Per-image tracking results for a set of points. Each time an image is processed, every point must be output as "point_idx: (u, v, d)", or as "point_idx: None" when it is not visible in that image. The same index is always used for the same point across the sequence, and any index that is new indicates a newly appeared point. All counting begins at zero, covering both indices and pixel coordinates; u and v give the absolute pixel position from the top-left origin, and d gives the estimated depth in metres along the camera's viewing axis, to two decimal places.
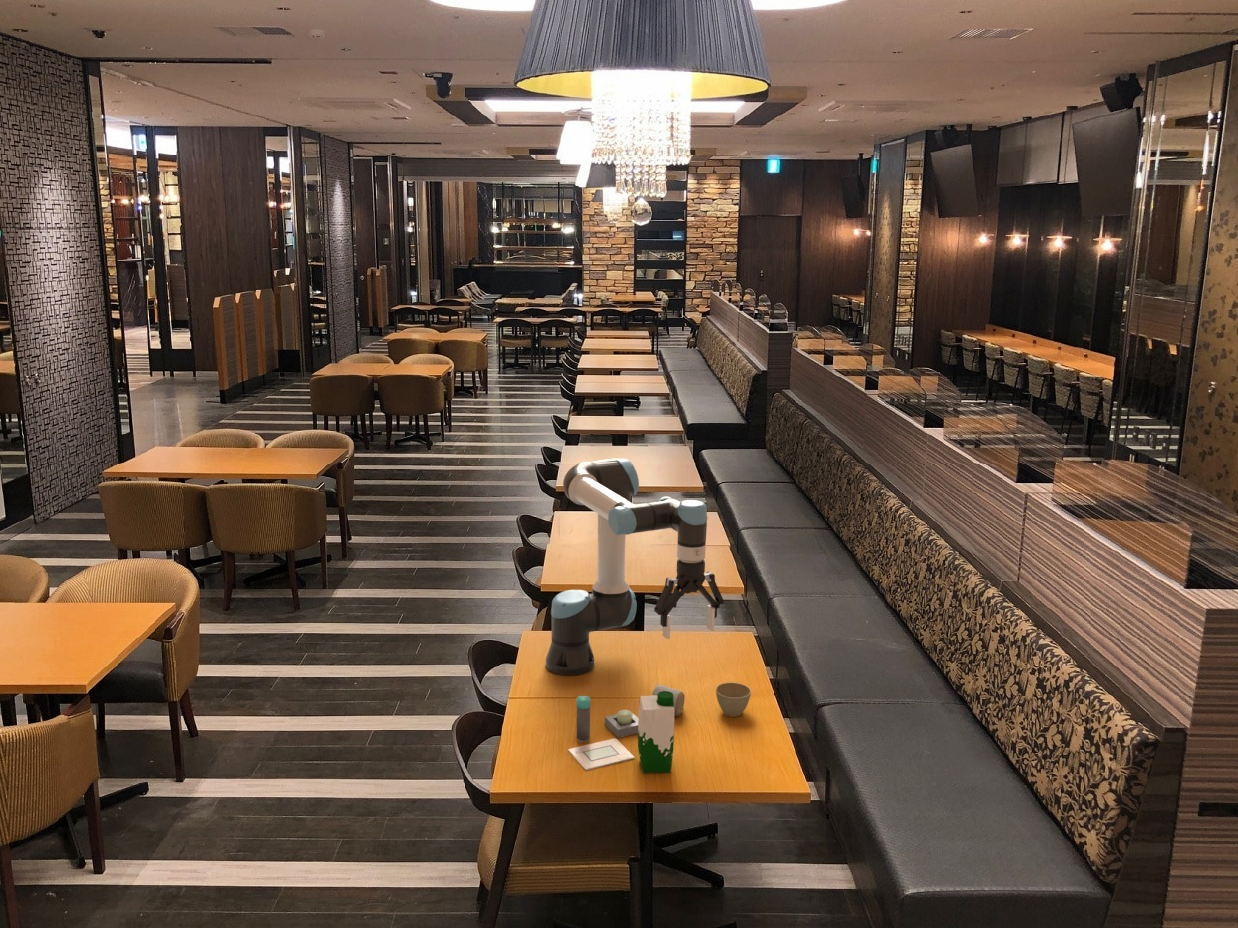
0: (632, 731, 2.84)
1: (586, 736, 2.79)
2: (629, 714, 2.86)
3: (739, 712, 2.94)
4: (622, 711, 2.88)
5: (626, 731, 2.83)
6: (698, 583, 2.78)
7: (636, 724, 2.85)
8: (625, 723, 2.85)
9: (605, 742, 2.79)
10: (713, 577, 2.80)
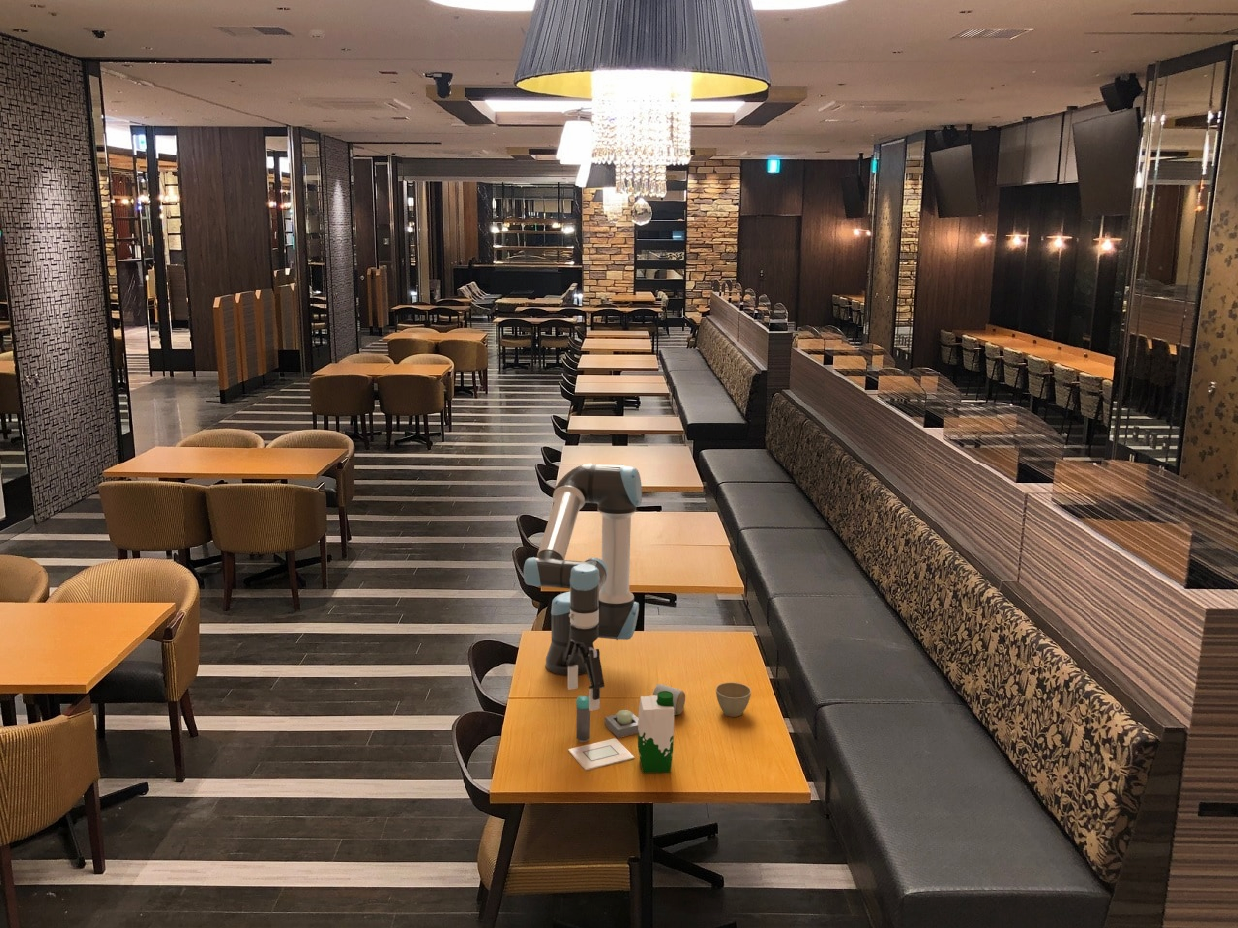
0: (632, 731, 2.84)
1: (586, 736, 2.79)
2: (629, 714, 2.86)
3: (739, 712, 2.94)
4: (622, 711, 2.88)
5: (626, 731, 2.83)
6: (579, 650, 2.72)
7: (636, 724, 2.85)
8: (625, 723, 2.85)
9: (605, 742, 2.79)
10: (590, 654, 2.68)
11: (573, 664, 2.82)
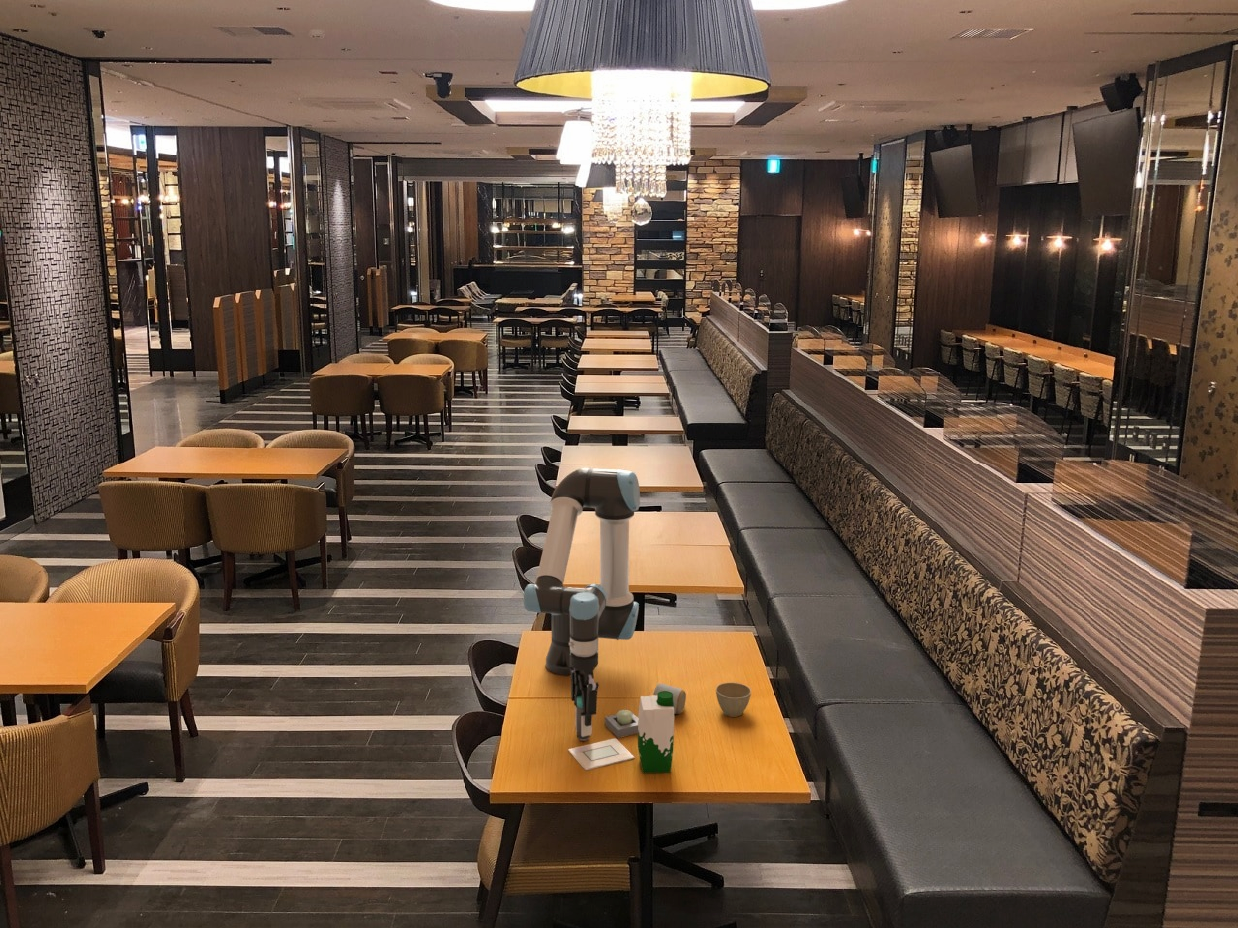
0: (632, 731, 2.84)
1: None
2: (629, 714, 2.86)
3: (739, 712, 2.94)
4: (622, 711, 2.88)
5: (626, 731, 2.83)
6: (579, 677, 2.74)
7: (636, 724, 2.85)
8: (625, 723, 2.85)
9: (605, 742, 2.79)
10: (589, 687, 2.71)
11: None
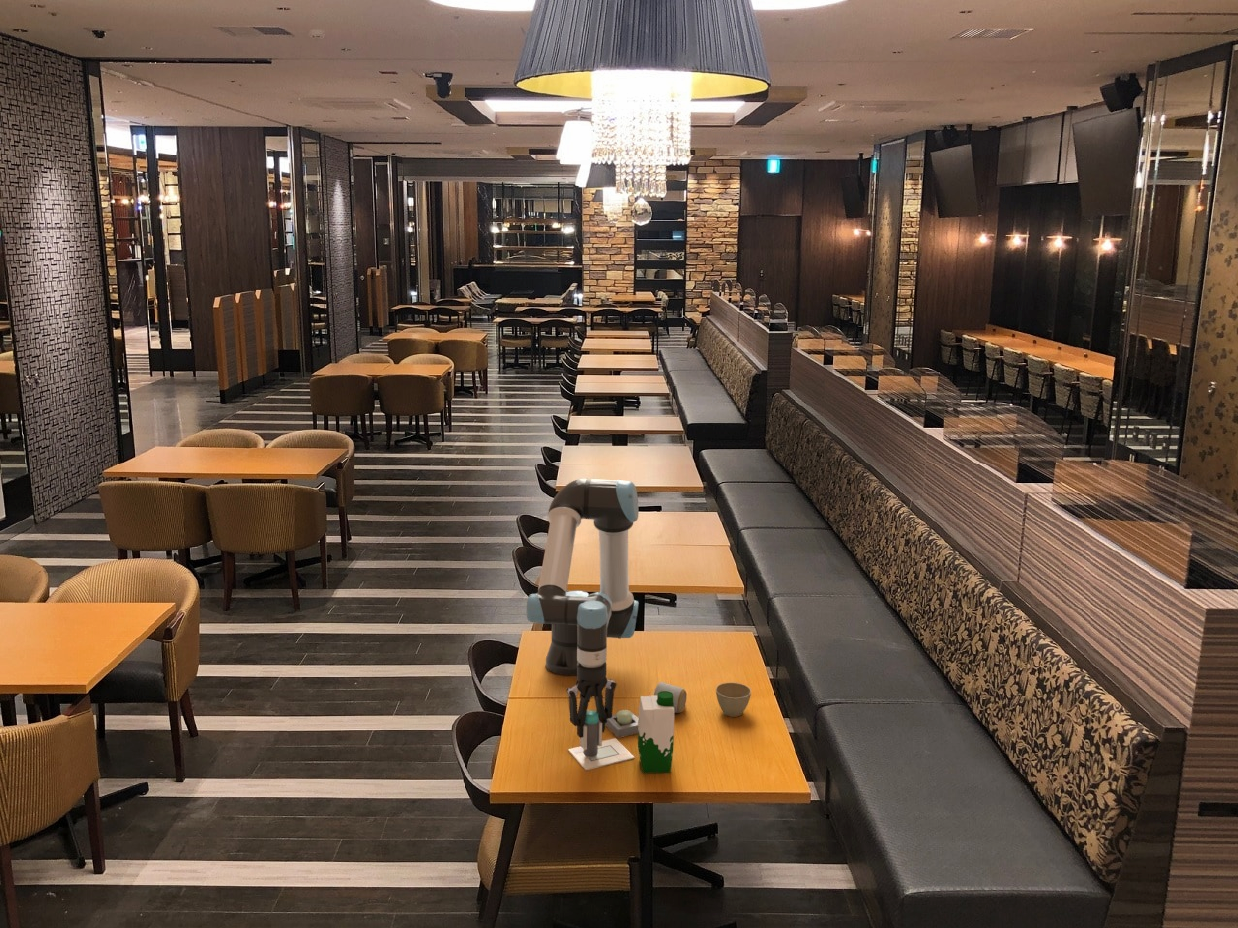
0: (632, 731, 2.84)
1: None
2: (629, 714, 2.86)
3: (739, 712, 2.94)
4: (622, 711, 2.88)
5: (626, 731, 2.83)
6: (599, 687, 2.66)
7: (636, 724, 2.85)
8: (625, 723, 2.85)
9: (605, 742, 2.79)
10: (614, 686, 2.69)
11: None
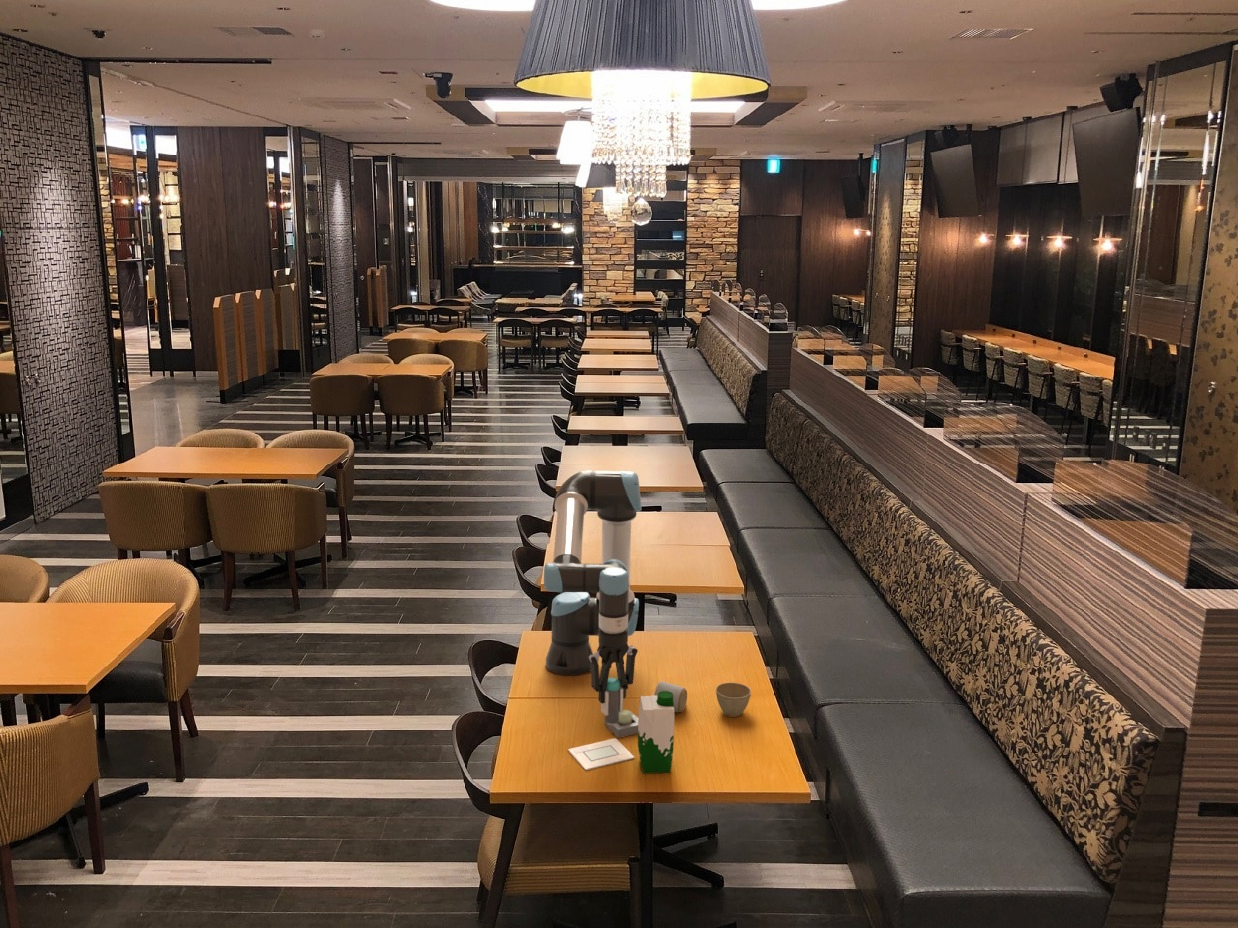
0: (632, 731, 2.84)
1: None
2: (629, 714, 2.86)
3: (739, 712, 2.94)
4: None
5: (626, 731, 2.83)
6: (621, 653, 2.67)
7: (636, 724, 2.85)
8: (625, 723, 2.85)
9: (605, 742, 2.79)
10: (635, 652, 2.70)
11: None
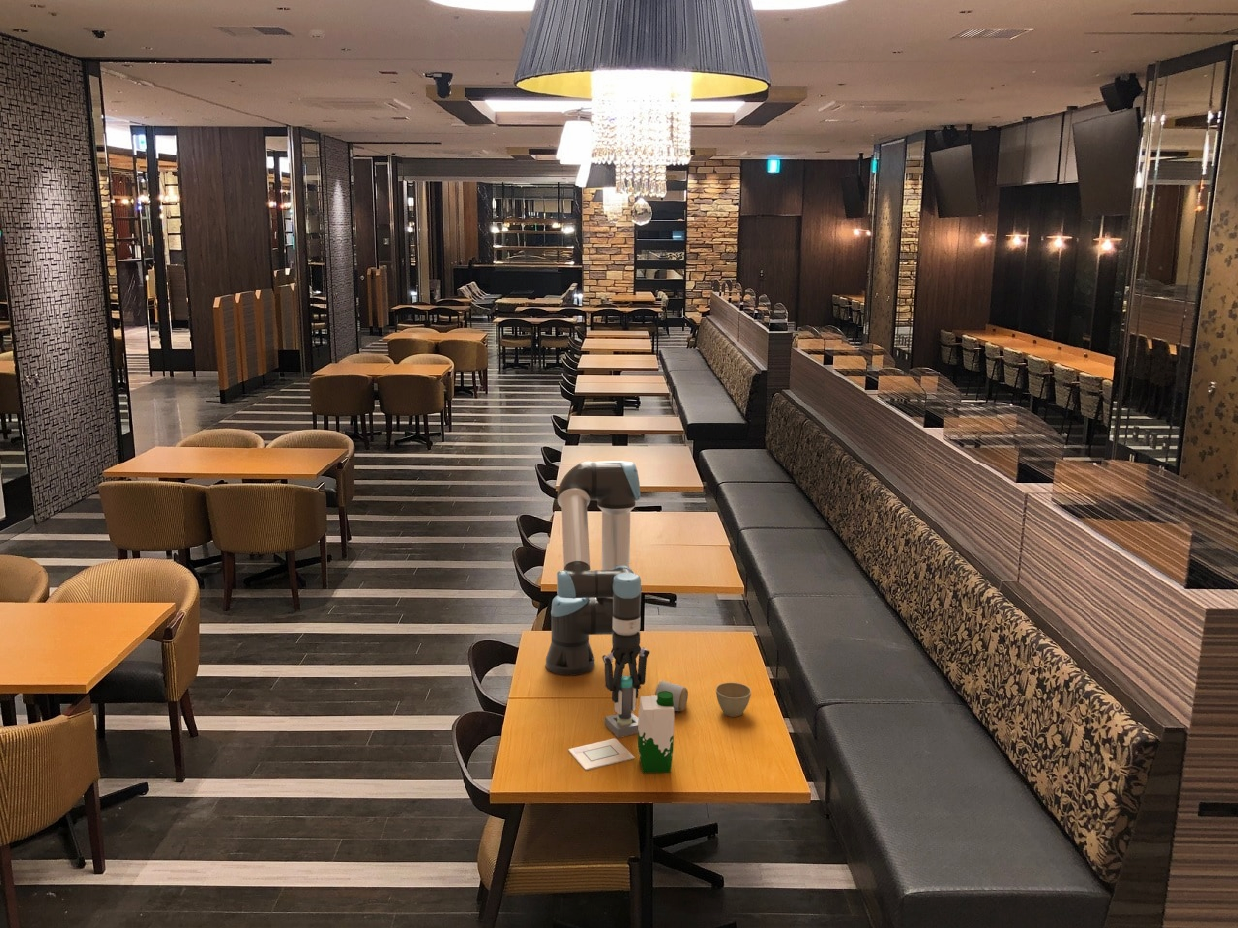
0: (632, 731, 2.84)
1: None
2: (629, 719, 2.86)
3: (739, 712, 2.94)
4: None
5: (626, 731, 2.83)
6: (633, 655, 2.81)
7: (636, 724, 2.85)
8: None
9: (605, 742, 2.79)
10: (647, 654, 2.84)
11: None
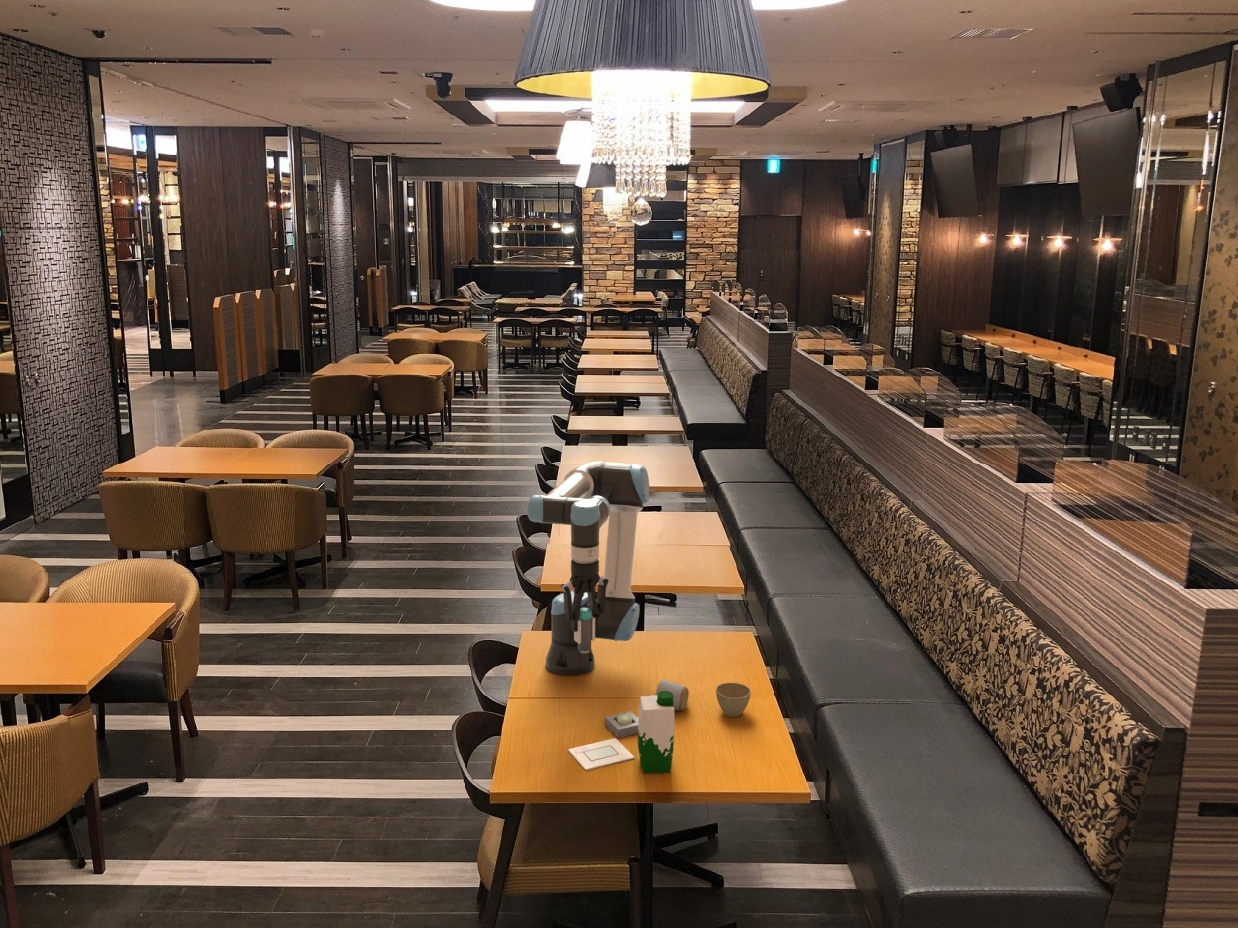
0: (632, 731, 2.84)
1: None
2: (629, 719, 2.86)
3: (739, 712, 2.94)
4: (622, 716, 2.88)
5: (626, 731, 2.83)
6: (592, 583, 2.79)
7: (636, 724, 2.85)
8: None
9: (605, 742, 2.79)
10: (606, 583, 2.82)
11: None
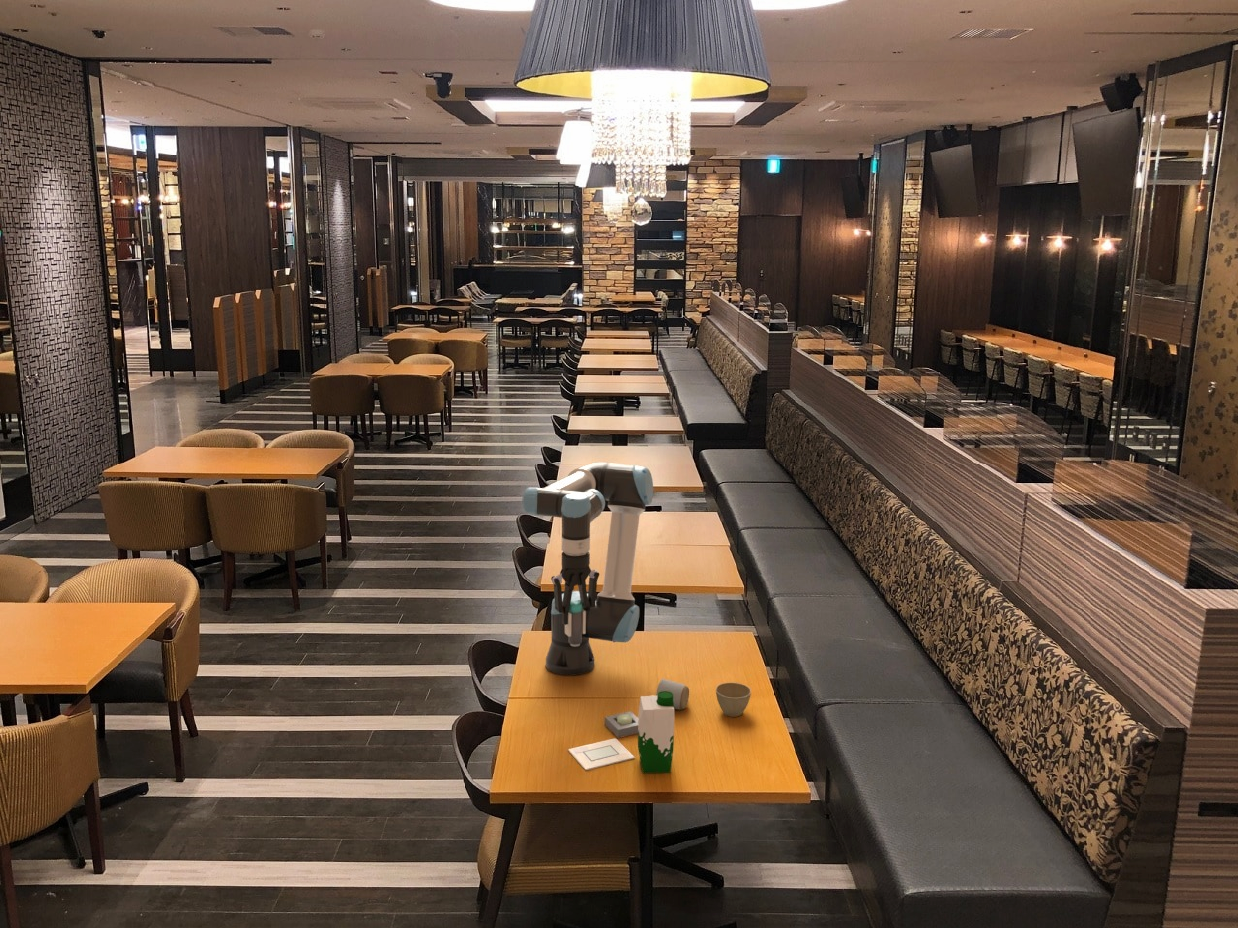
0: (632, 731, 2.84)
1: None
2: (629, 719, 2.86)
3: (739, 712, 2.94)
4: (622, 716, 2.88)
5: (626, 731, 2.83)
6: (583, 576, 2.79)
7: (636, 724, 2.85)
8: None
9: (605, 742, 2.79)
10: (597, 576, 2.82)
11: None
